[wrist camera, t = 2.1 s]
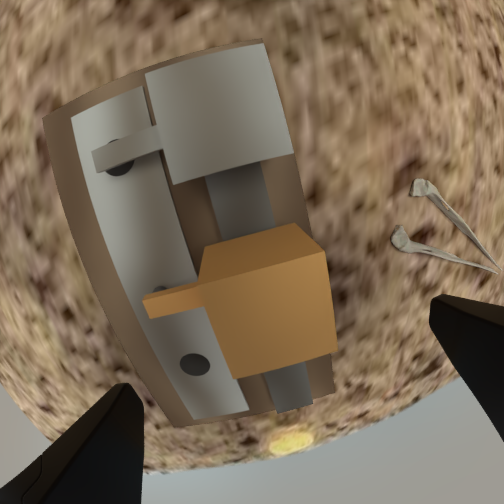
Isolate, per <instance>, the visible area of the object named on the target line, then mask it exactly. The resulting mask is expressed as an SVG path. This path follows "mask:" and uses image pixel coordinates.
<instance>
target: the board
mask: <svg viewBox="0 0 504 504" xmlns="http://www.w3.org/2000/svg"><path fill="white" fill-rule="evenodd" d="M42 119H43V126H44V131H45V137H46V142H47V147H48V152H49V156H50V161H51V165H52V169H53V173H54V177H55V181H56V185H57V188H58V192H59V195H60V199H61V202H62V206H63V209H64V212H65V215H66V218H67V221H68V224H69V227H70V230H71V233H72V236H73V239H74V241H75V244H76V247H77V249H78V252H79V255H80V257H81V260H82V262H83V265H84V267H85V270H86V272H87V275H88V277H89V279H90V282H91V284H92V286H93V288H94V291H95V293H96V295H97V297H98V299H99V302H100V304H101V306H102V308H103V310H104V312H105V314H106V316H107V318H108V320H109V322H110V324H111V326H112V328H113V330H114V332H115V334H116V336H117V337H118V339H119V341H120V343H121V345H122V347H123V348H124V350H125V352H126V354H127V355H128V357H129V359H130V361H131V362H132V364H133V366H134V367H135V369H136V371H137V372H138V374H139V376H140V377H141V379H142V380H143V382H144V384H145V385H146V387H147V388H148V390H149V391H150V393H151V395H152V396H153V398H154V399H155V401H156V402H157V403H158V405H159V406H160V408H161V409H162V411H163V412H164V414H165V415H166V416H167V418H168V419H169V421H170V422H171V423H172V425H173V426H174V427H183V426H191V425H199V424H206V423H213V422H219V421H225V420H230V419H236V418H241V417H246V416H251V415H255V414H260V413H264V412H268V411H273V410H276V411H277V414H278V413H282V412H285V411H289V410H293V409H297V408H300V407H304V406H307V405H311V404H313V399H316V398H319V397H323V396H326V395H329V394H332V393H335V390H334V380H333V371H332V362H331V354H330V353H329V354H326V355H323V356H320V357H317V358H314V359H310V360H307V361H304V362H300V363H297V364H293V365H290V366H286V367H282V368H279V369H275V370H271V371H267V372H263V373H259V374H255V375H251V376H247V377H242V378H238V379H233V378H232V375H231V373H230V371H229V368H228V366H227V363H226V361H225V359H224V356H223V354H222V351H221V349H220V346H219V344H218V341H217V339H216V336H215V334H214V331H213V328H212V326H211V323H210V321H209V318H208V315H207V313H206V310H205V307H204V306H203V307H199V308H195V309H191V310H187V311H183V312H178V313H174V314H170V315H166V316H161V317H157V318H153V319H150V318H149V316H148V313H147V311H146V309H145V307H144V304H143V302H142V300H143V298H144V296H145V295H147V294H151V293H152V292H153V290H154V288H156V287H158V286H163V287H165V288H167V289H170V288H174V287H178V286H182V285H186V284H190V283H193V282H197V281H198V276H199V272H200V267H201V262H202V257H203V253H204V248H205V247H206V246H209V245H213V244H217V243H220V242H224V241H228V240H231V239H235V238H239V237H242V236H246V235H250V234H253V233H257V232H261V231H265V230H268V229H272V228H276V227H280V226H284V225H287V224H291V223H296V224H297V225H298V226H299V227H300V228H301V229H302V230H303V231H304V232H305V233H306V234H307V235H308V236H309V237H311V238H312V234H311V229H310V224H309V219H308V214H307V209H306V204H305V199H304V195H303V190H302V185H301V181H300V177H299V172H298V168H297V164H296V159H295V155H294V151H293V147H292V143H291V139H290V135H289V131H288V127H287V123H286V119H285V115H284V112H283V108H282V104H281V101H280V97H279V93H278V90H277V86H276V83H275V79H274V76H273V73H272V69H271V66H270V63H269V59H268V56H267V53H266V50H265V46H264V43H263V40H262V38H260V39H254V40H248V41H242V42H237V43H232V44H227V45H222V46H218V47H214V48H209V49H205V50H201V51H198V52H194V53H190V54H187V55H183V56H180V57H177V58H173V59H170V60H167V61H164V62H161V63H158V64H155V65H152V66H149V67H147V68H144V69H141V70H139V71H136V72H133V73H131V74H128V75H126V76H123V77H121V78H119V79H116V80H114V81H112V82H109V83H107V84H105V85H103V86H101V87H99V88H96V89H94V90H92V91H90V92H88V93H86V94H84V95H82V96H80V97H78V98H76V99H75V100H73V101H71V102H69V103H67V104H65V105H64V106H62V107H60V108H58V109H56V110H55V111H53V112H51V113H50V114H48V115H46V116H45V117H43V118H42Z"/></svg>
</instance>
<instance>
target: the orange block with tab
mask: <svg viewBox="0 0 504 504" xmlns="http://www.w3.org/2000/svg"><path fill="white" fill-rule="evenodd" d="M142 302H143V304H144V307H145V309H146V311H147V313H148V316H149V318H150V319H153V318H157V317H161V316H166V315H170V314H174V313H178V312H183V311H187V310H191V309H195V308H199V307H203V306H204V307H205V310H206V313H207V315H208V318H209V321H210V323H211V326H212V328H213V331H214V334H215V336H216V339H217V341H218V344H219V346H220V349H221V351H222V354H223V356H224V359H225V361H226V363H227V366H228V368H229V371H230V373H231V375H232V378H233V379H238V378H242V377H247V376H251V375H255V374H259V373H263V372H267V371H271V370H275V369H279V368H282V367H286V366H290V365H293V364H297V363H300V362H304V361H307V360H310V359H314V358H317V357H320V356H323V355H326V354H329V353H332V352H335V351H338V344H337V335H336V326H335V318H334V310H333V302H332V295H331V288H330V281H329V275H328V268H327V262H326V256H325V251H324V250H323V249H322V248H321V247H320V246H319V245H318V244H317V243H316V242H315V241H314V240H313V239H312V238H311V237H309V236H308V235H307V234H306V233H305V232H304V231H303V230H302V229H301V228H300V227H299V226H298V225H297V224H296V223H291V224H287V225H284V226H280V227H276V228H272V229H268V230H265V231H261V232H257V233H253V234H250V235H246V236H242V237H239V238H235V239H231V240H228V241H224V242H220V243H217V244H213V245H209V246H206V247H205V248H204V253H203V257H202V262H201V267H200V272H199V276H198V281H197V282H193V283H190V284H186V285H182V286H178V287H174V288H170V289H167V288H165V287H163V286H158V287H156V288H154V290H153V292H152V293H151V294H147V295H145V296H144V298H143V300H142Z"/></svg>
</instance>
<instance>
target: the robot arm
mask: <svg viewBox="0 0 504 504" xmlns="http://www.w3.org/2000/svg"><path fill="white" fill-rule="evenodd" d="M429 325H430V328H431V330H432V331H433V333H434V335H435V336H436V338H437V340H438V341H439V343H440V344H441V346H442V348H443V350H444V351H445V353H446V355H447V356H448V358H449V360H450V361H451V363H452V365H453V366H454V367H455V369H456V370H457V372H458V373H459V374H460V376H461V377H462V378H463V380H464V381H465V383H466V384H467V386H468V387H469V389H470V390H471V391H472V393H473V394H474V396H475V397H476V399H477V400H478V402H479V403H480V405H481V406H482V408H483V409H484V411H485V412H486V414H487V416H488V417H489V418H490V420H491V422H492V423H493V425H494V427H495V428H496V430H497V432H498V433H499V435H500V437H501V438H502V440H503V442H504V306H499V305H494V304H489V303H485V302H480V301H475V300H470V299H465V298H460V297H456V296H451V295H446V294H441V295H439V296H436V297H434V298H433V299H432V300H431V303H430V315H429ZM143 462H144V406H143V403H142V401H141V399H140V398H139V396H138V395H137V393H136V392H135V390H134V389H133V387H132V386H131V385H130V384H129V383H119V384H116V385H114V386H113V387H112V388H111V389H110V390H109V391H108V392H107V393H106V394H105V395H104V396H103V397H102V398H100V399H99V400H98V401H97V402H96V403H95V404H94V405H93V406H92V407H91V408H90V409H89V410H88V411H87V412H86V413H85V414H83V415H82V416H81V417H80V418H79V419H78V420H77V421H76V422H75V423H74V424H73V425H72V426H71V427H70V428H69V429H68V430H66V431H65V432H64V433H63V434H62V435H61V436H60V437H59V438H58V439H57V440H56V441H55V442H54V443H53V444H52V445H51V446H49V447H48V448H47V449H46V450H45V451H44V452H43V453H42V455H40V456H39V457H38V458H37V459H36V460H35V461H33V462H32V463H31V464H30V465H29V466H28V467H27V468H26V469H24V470H23V471H22V472H21V473H20V474H18V475H17V476H16V477H15V478H13V479H12V480H11V481H9V482H8V483H7V484H6V485H4V486H3V487H2V488H0V504H141V494H142V492H141V491H142V476H143Z"/></svg>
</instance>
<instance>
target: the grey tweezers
mask: <svg viewBox="0 0 504 504" xmlns="http://www.w3.org/2000/svg"><path fill="white" fill-rule="evenodd" d="M409 193H410V194H411V196H413V197H414V196H419V197H421V196H425V195H426V196H427V197H429V198H430V199H431V200H432V201H433V203H434V204H435V205H436V206H437V207H438V208H440V209H441V210H442V212H443V213H444V214H445V215H446V216H447V217H448V218H450V220H451V221H452V222H453V223H454V224H455V225H456V226H457V227H458V228H459V229H460V230H461V231H462V232H463V233H465V234H466V235H467V236H469V237H470V238H471V239H472V240H473V241H474V242H475V243H476V245H477V246H478V247H479V248H480V249H481V250H482V252H484V254H485V255H486V256H487V257H488V258H489V259H490V260H491V262H492V263H493V264H495V265H496V266H497V267H498V268H499V269H500V270H502V269H501V268H500V266H499V265H498V264H497V263H496V262H495V261H494V260H493V258H492V256H490V254H489V253H488V252H487V251H486V249H485V248H484V247H483V246H482V244H481V243H480V241H479V240H478V239H477V237H476V236H475V235H474V233H473V232H472V231H471V229H470V228H469V227H468V225H467V224H466V223H465V221H464V220H463V219H462V217H460V216H459V215H458V214H457V213H456V212H455V211H454V210H453V209H452V208H451V207H450V206H449V205H448V204H447V202H446V201H445V200H444V199H443V198H442V197H441V195H440V194H439V193H438V190H437V188H436V187H435V186H434V185H433V184H431V183H430V182H429V181H428V180H424V179H415V180H414V181H413V183H412V187H411V190H410V192H409ZM441 201H443V202H444V203H445V204H446V205H447V206H448V208H449V210H447V209H446V208H445V207H444V206H443V204H442V203H441ZM391 242H392V243H393V244H394V245H395V247H398V249H399V250H400V251H404V252H407V253H412V252H421V253H426V254H431V255H435V256H438V257H441V258H444V259H447V260H450V261H455V262H459V263H464V264H468V265H472V266H476V267H479V268H482V269H486V270H488V271H491V272H493V273H496V274H498V273H497V272H495V271H494V270H493V269H491V268H490V267H486V266H484V265H479V264H477V263H473V262H469V261H466V260H463V259H460V258H458V257H457V256H455V255H454V254H451V253H448V252H446V251H443V250H440V249H437V248H434V247H431V246H426V245H423V244H420V243H416V242H413V241H410V239H409V238H408V236H407V233H406V232H405V231H404V229H403V226H402V225H396V228H395V230H394V232H393V234H392V236H391ZM422 249H424V250H428V251H431V252H428V251H424V250H422ZM502 271H503V270H502Z"/></svg>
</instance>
